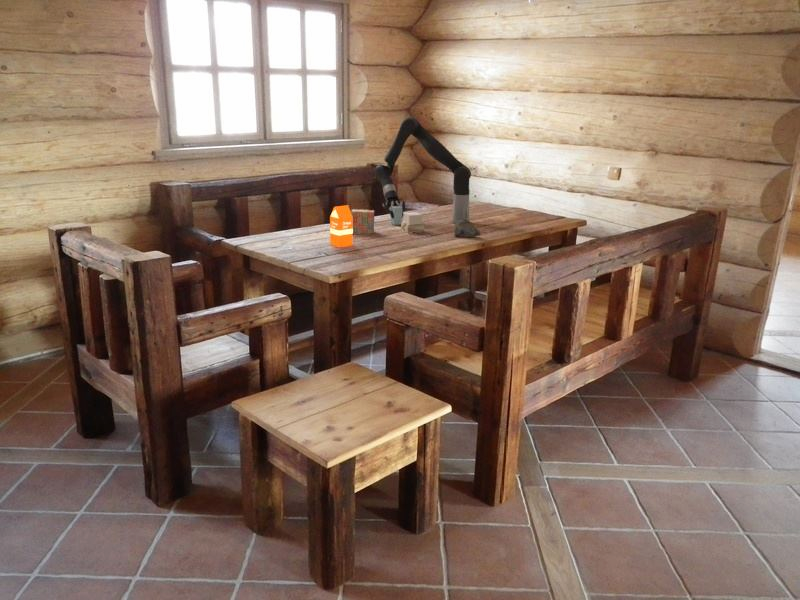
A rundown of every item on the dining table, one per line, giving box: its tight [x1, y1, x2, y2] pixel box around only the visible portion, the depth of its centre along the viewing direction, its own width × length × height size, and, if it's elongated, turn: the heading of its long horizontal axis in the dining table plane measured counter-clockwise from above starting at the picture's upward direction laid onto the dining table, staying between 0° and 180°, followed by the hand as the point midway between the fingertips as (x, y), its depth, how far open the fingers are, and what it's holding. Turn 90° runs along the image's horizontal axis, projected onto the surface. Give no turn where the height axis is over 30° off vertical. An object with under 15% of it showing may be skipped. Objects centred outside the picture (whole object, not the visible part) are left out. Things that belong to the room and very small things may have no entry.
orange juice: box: [329, 204, 354, 248], centre depth 346 cm, size 8×9×20 cm
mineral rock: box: [453, 219, 482, 238], centre depth 370 cm, size 13×11×10 cm
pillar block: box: [390, 205, 403, 226], centre depth 399 cm, size 5×5×10 cm
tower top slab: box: [402, 211, 423, 224], centre depth 383 cm, size 8×8×5 cm
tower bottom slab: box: [400, 220, 426, 234], centre depth 384 cm, size 10×10×5 cm
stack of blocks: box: [350, 209, 375, 234], centre depth 376 cm, size 21×6×12 cm, turn 86°
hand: (397, 217), depth 398 cm, fingers closed on pillar block, 5 cm apart
